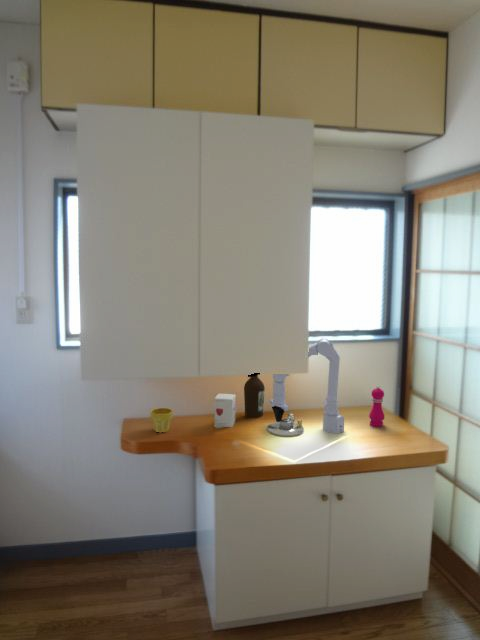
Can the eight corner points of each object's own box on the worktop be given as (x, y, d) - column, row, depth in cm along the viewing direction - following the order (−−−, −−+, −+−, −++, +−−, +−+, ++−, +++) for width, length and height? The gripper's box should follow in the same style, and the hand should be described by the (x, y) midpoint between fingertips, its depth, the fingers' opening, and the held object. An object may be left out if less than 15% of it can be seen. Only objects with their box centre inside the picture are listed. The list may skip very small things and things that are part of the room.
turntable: (309, 435, 212) (309, 425, 212) (273, 438, 209) (273, 428, 208) (296, 422, 229) (296, 414, 228) (263, 425, 225) (263, 416, 225)
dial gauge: (295, 423, 231) (295, 413, 231) (287, 426, 227) (288, 416, 226) (289, 421, 234) (290, 411, 233) (282, 424, 229) (282, 414, 229)
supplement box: (213, 428, 224) (213, 398, 222) (217, 422, 232) (218, 393, 231) (232, 429, 222) (232, 399, 220) (235, 423, 231) (235, 394, 229)
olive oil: (240, 418, 238) (240, 370, 235) (248, 412, 248) (248, 366, 245) (259, 421, 234) (260, 372, 231) (267, 415, 244) (267, 368, 241)
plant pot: (177, 429, 222) (177, 409, 221) (164, 436, 213) (164, 415, 212) (159, 425, 227) (158, 406, 225) (146, 432, 217) (146, 412, 216)
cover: (295, 429, 216) (295, 420, 216) (281, 429, 215) (282, 421, 215) (290, 424, 223) (290, 416, 222) (277, 425, 221) (278, 417, 221)
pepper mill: (382, 422, 233) (384, 383, 231) (385, 427, 226) (387, 387, 224) (367, 422, 234) (369, 383, 231) (370, 427, 227) (371, 387, 224)
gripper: (264, 391, 227) (264, 417, 229) (279, 398, 214) (279, 427, 216) (276, 389, 230) (276, 416, 232) (292, 397, 217) (292, 425, 219)
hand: (278, 421), depth 224 cm, fingers closed
